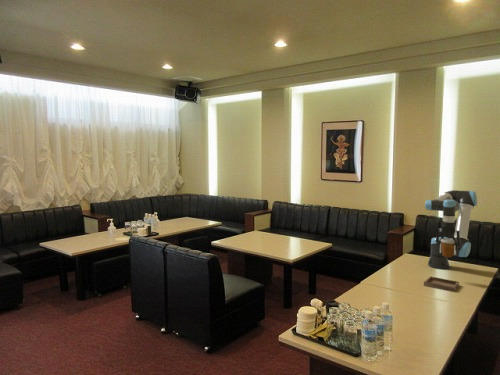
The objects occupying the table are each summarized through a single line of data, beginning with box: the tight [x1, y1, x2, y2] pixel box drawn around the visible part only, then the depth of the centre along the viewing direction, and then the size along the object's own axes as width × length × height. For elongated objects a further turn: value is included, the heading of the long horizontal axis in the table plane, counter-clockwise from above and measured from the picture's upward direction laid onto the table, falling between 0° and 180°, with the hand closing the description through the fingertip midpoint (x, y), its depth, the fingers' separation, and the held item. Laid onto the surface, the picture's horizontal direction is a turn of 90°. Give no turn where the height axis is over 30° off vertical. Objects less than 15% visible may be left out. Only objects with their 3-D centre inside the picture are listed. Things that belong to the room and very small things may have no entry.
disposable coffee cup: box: [441, 237, 455, 258], centre depth 251 cm, size 10×10×12 cm
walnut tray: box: [423, 276, 460, 293], centre depth 240 cm, size 16×18×2 cm
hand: (447, 253), depth 251 cm, fingers closed on disposable coffee cup, 8 cm apart
